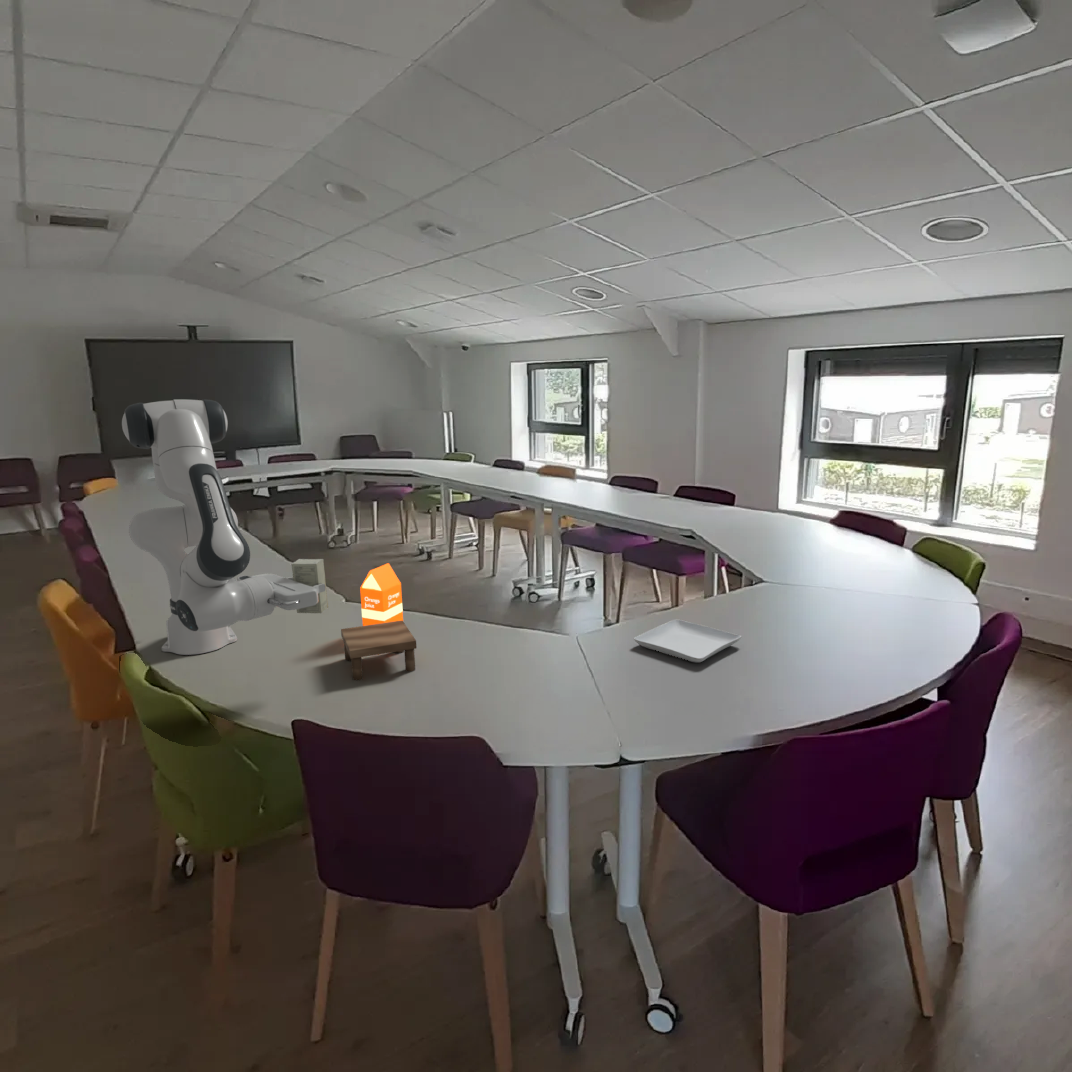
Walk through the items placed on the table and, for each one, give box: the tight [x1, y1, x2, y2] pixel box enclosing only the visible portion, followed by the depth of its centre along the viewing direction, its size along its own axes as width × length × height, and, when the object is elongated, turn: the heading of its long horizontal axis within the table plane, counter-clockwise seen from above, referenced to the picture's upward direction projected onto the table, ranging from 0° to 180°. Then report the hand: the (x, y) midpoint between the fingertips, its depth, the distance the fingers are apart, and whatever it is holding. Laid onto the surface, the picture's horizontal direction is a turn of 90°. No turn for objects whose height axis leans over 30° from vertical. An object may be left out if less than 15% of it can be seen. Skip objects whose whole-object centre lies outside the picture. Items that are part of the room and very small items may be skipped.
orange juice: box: [359, 562, 404, 626], centre depth 199 cm, size 8×9×20 cm
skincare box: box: [291, 558, 329, 614], centre depth 165 cm, size 6×4×12 cm
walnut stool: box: [340, 620, 417, 682], centre depth 179 cm, size 16×16×8 cm
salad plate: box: [633, 618, 742, 663], centre depth 189 cm, size 21×21×3 cm
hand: (313, 583), depth 165 cm, fingers closed on skincare box, 7 cm apart
